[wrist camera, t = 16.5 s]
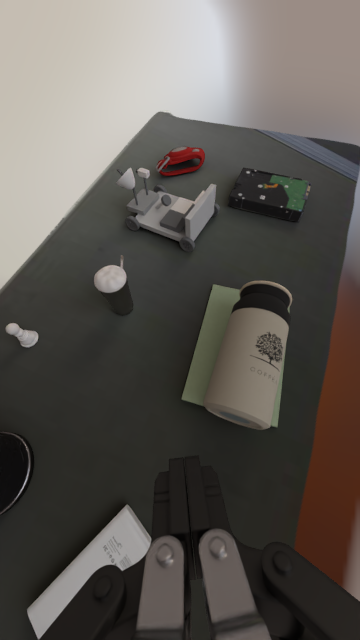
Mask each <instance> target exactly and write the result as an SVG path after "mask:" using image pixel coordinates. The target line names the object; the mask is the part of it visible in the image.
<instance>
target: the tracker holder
mask: <svg viewBox="0 0 360 640" xmlns="http://www.w3.org/2000/svg"><path fill="white" fill-rule="evenodd" d="M194 158H198V159H200V164H199V165H197V166H193V167H189V168H184V169H180V170H175V171H171V172H162V171H161V169H165V168H167V165H173V164H177V163H180V162H184V161H187V160H190V159H194ZM204 159H205V154H204V151H203V150H202V149H201V148H190V147H179V148H176V149H173V150H172V151H170V152H169V153H168V154H167V155H166V156H165V157H164V159H163V160H160V161H159V162H158V164H157V166H156V168H155V169H156V171H158V172H159V173H160V174H162V175H165V176H172V175H178V174H183V173H187V172H192V171H196V170H197V169H199V168H200V167H201V165H202V164H203V162H204Z"/></svg>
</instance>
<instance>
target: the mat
mask: <svg viewBox="0 0 360 640" xmlns="http://www.w3.org/2000/svg"><path fill="white" fill-rule="evenodd" d="M239 292H240V290H238V289H233V288H228V287H223V286H219V285H214V284H213V287H212V291H211V294H210V298H209V302H208V305H207V309H206V312H205V316H204V320H203V323H202V327H201V330H200V334H199V338H198V341H197V345H196V348H195V352H194V356H193V359H192V363H191V366H190V370H189V374H188V377H187V381H186V384H185V388H184V392H183V395H182V400H184V401H188V402H191V403H194V404H198V405H201V406H204V405H203V402H204V398H205V395H206V392H207V389H208V386H209V382H210V379H211V376H212V373H213V370H214V366H215V363H216V360H217V357H218V354H219V350H220V347H221V344H222V341H223V338H224V334H225V331H226V328H227V325H228V322H229V318H230V315H231V312H232V309H233V306H234V304H235V303H236V302H238V301H239V300H240V296H239ZM287 310H288V312H289V311H290V306H289V307H288V309H287ZM285 349H286V346H285ZM284 358H285V351H284V356H283V362H282V367H281V372H280V378H279V383H278V388H277V393H276V399H275V404H274V409H273V415H272V420H271V425H270V426H272V427H277V425H278V416H279V406H280V397H281V387H282V378H283V368H284Z"/></svg>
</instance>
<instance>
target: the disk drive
mask: <svg viewBox="0 0 360 640" xmlns="http://www.w3.org/2000/svg"><path fill="white" fill-rule="evenodd" d="M310 186H311V182H308V181H305V180H302V179H299V178H293V177H288V176H283V175H278V174H273V173H268V172H263V171H258V170H254V169H248V168H243V169H242V171H241V173H240V175H239V177H238V179H237V181H236V183H235V186H234V189H232V191H231V193H230V196H229V202H228V206H231V207H235V208H239V209H243V210H247V211H252V212H256V213H260V214H265V215H269V216H273V217H277V218H281V219H286V220H290V221H297V222H299V220H300V218H301V216H302V214H303V212H304V209H305V205H306V201H307V199H308V194H309V190H310Z"/></svg>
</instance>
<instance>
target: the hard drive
mask: <svg viewBox="0 0 360 640" xmlns="http://www.w3.org/2000/svg"><path fill="white" fill-rule="evenodd" d="M150 544H151V537H150V536H149V534H148V533H147V531H146V530H145V528H144V527H143V525H142V524H141V522H140V521H139V519H138V518H137V516H136V515H135V513H134V512H133V510H132V509H131V508H130V506H129V505H128V504H127V505H126V506H125V507H124V508H123V509H122V510H121V511H120V512H119V513H118V514H117V515H116V516H115V517H114V518H113V519H112V520H111V521H110V523H109V524H108V525H107V526H106V527H105V528H104V529H103V530H102V531H101V532H100V533H99V534H98V535H97V536H96V537H95V538H94V539H93V540H92V541H91V542H90V543H89V544H88V546H87V547H86V548H85V549H84V550H83V551H82V552H81V553H80V554H79V555H78V556H77V557H76V558H75V559H74V560H73V561H72V562H71V563H70V564H69V566H68V567H67V568H66V569H65V570H64V571H63V572H62V573H61V574H60V575H59V576H58V577H57V578H56V579H55V580H54V581H53V582H52V583H51V584H50V586H49V587H48V588H47V589H46V590H45V591H44V592H43V593H42V594H41V595H40V596H39V597H38V598H37V599H36V600H35V601H34V602H33V604H32V605H31V606H30V607H29V608H28V609H27V613H28V617H29V619H30V621H31V624H32V626H33V628H34V631H35V633H36V636H37V638H38V640H39V639H40V638H41V636H42V635H43V634H44V633H45V632H46V630H47V629H48V628H49V627H50V625H51V624H52V623H53V622H54V621H55V619H56V618H57V617H58V616H59V614H60V613H61V612H62V611H63V609H64V608H65V607H66V606H67V605H68V603H69V602H70V601H71V600H72V598H73V597H74V596H75V595H76V594H77V592H78V591H79V590H80V589H81V587H82V586H83V585H84V584H85V582H86V581H87V580H88V579H89V578H90V576H91V575H92V574H93V573H94V572H95V571H96V570H98V569H99V568H101V567H103V566H105V565H115V566H117V567H119V568H120V569H121V570H122V571H123V570H125V569H127V568H128V567H130V566H132V565H134V564H135V563H137V562H138V561H140V560H141V559H142V558H143V557H144V555H145V554H146V553H147V551H148V549H149V547H150Z"/></svg>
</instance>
